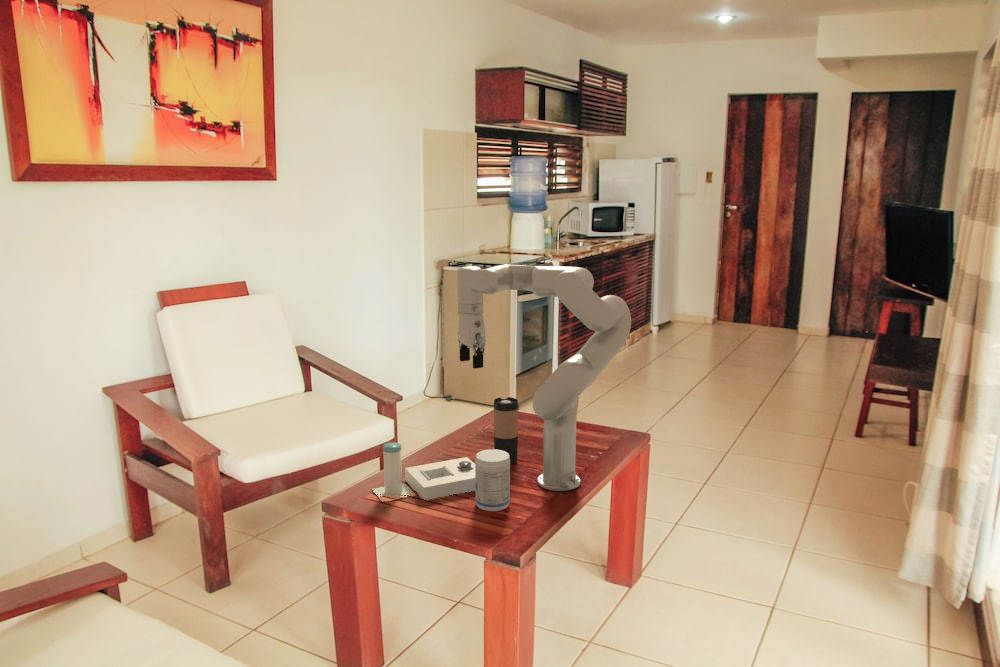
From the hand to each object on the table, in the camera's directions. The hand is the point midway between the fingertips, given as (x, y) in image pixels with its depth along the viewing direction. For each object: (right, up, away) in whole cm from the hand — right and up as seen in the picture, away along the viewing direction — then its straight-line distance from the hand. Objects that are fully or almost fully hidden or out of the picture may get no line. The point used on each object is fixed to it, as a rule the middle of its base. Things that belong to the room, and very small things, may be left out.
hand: (471, 364), depth 229 cm
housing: (-7, -35, -5) cm, 36 cm away
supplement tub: (+7, -38, -19) cm, 43 cm away
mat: (-22, -36, -11) cm, 44 cm away
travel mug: (+10, -31, +13) cm, 36 cm away
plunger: (-2, -34, -3) cm, 34 cm away
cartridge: (-22, -36, -11) cm, 44 cm away
